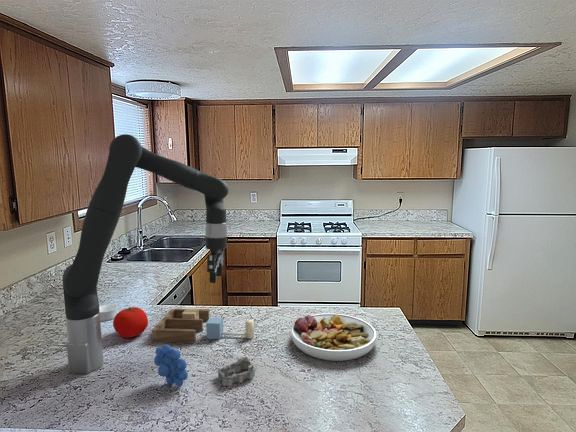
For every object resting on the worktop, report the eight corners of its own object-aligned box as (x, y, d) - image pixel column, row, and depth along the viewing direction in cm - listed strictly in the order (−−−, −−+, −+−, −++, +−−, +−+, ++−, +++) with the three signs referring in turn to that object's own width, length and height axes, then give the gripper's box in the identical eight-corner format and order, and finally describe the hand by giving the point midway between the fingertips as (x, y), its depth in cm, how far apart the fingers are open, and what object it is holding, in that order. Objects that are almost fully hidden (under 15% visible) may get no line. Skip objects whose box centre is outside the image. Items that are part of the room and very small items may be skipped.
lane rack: (194, 343, 135) (194, 331, 135) (152, 341, 136) (151, 330, 136) (209, 319, 155) (209, 309, 154) (172, 318, 156) (172, 308, 155)
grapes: (145, 387, 109) (142, 348, 107) (161, 375, 115) (159, 338, 113) (177, 397, 104) (175, 356, 103) (193, 384, 110) (191, 345, 109)
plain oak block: (195, 328, 147) (194, 313, 147) (182, 328, 148) (182, 313, 147) (199, 322, 152) (198, 308, 152) (186, 322, 153) (186, 308, 152)
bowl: (377, 330, 146) (378, 310, 145) (373, 371, 117) (374, 347, 116) (302, 321, 154) (302, 303, 153) (281, 358, 125) (280, 335, 124)
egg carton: (248, 367, 120) (248, 355, 119) (257, 379, 113) (257, 366, 113) (215, 376, 115) (215, 363, 114) (223, 389, 108) (223, 375, 108)
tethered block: (252, 340, 137) (252, 324, 136) (206, 338, 138) (206, 323, 137) (254, 333, 142) (254, 318, 141) (210, 332, 143) (209, 317, 142)
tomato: (134, 325, 150) (132, 300, 148) (155, 332, 144) (153, 306, 142) (108, 337, 140) (106, 310, 139) (129, 345, 134) (127, 317, 132)
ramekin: (89, 321, 154) (89, 311, 154) (105, 312, 163) (104, 303, 162) (108, 323, 152) (107, 312, 152) (122, 314, 161) (122, 304, 160)
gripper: (221, 239, 128) (221, 285, 130) (231, 232, 142) (230, 274, 144) (199, 238, 128) (199, 284, 130) (211, 231, 142) (211, 273, 144)
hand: (216, 279), depth 137 cm, fingers open, 8 cm apart
